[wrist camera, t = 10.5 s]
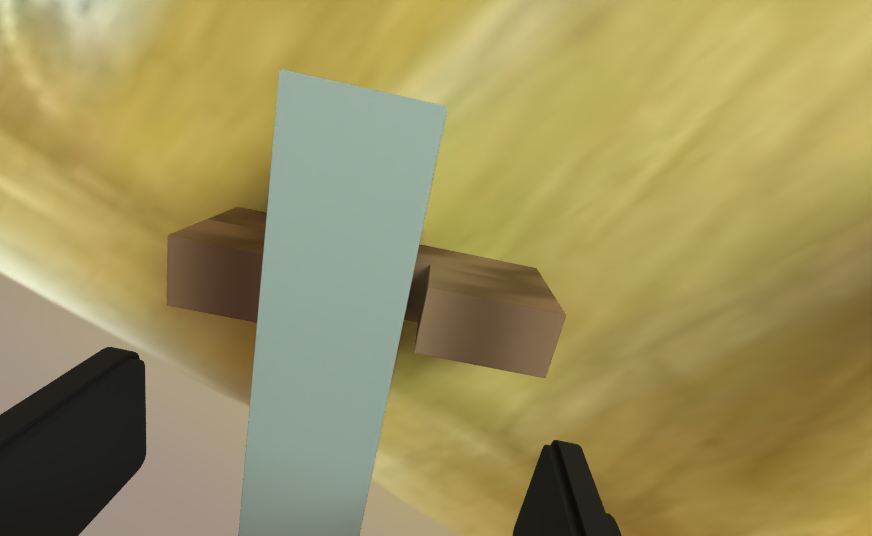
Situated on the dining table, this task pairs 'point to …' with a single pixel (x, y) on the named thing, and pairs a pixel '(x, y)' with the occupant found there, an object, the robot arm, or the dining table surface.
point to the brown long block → (427, 303)
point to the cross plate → (332, 298)
